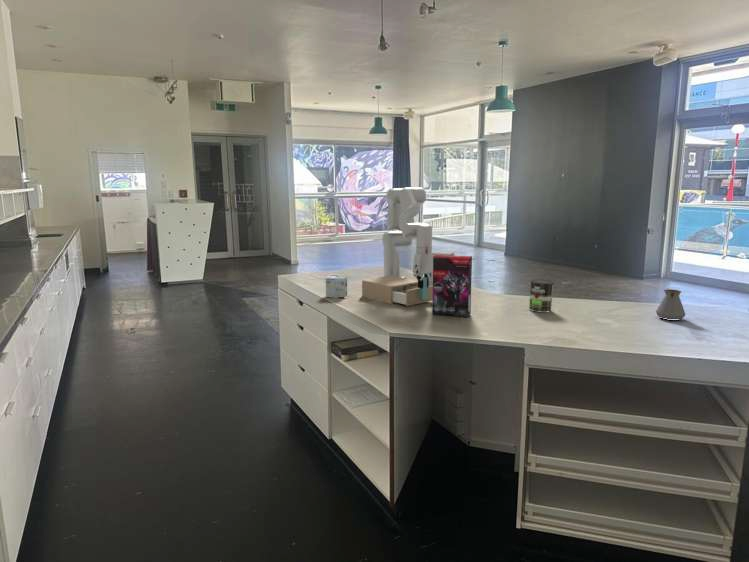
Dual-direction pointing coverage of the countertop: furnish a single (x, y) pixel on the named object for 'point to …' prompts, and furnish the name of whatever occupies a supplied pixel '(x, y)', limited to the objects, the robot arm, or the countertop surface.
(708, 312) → the countertop surface
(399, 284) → the sleeve
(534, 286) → the coffee can
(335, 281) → the light bulb box
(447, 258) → the graphics card box
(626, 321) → the countertop surface
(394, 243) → the robot arm
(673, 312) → the coffee pot
